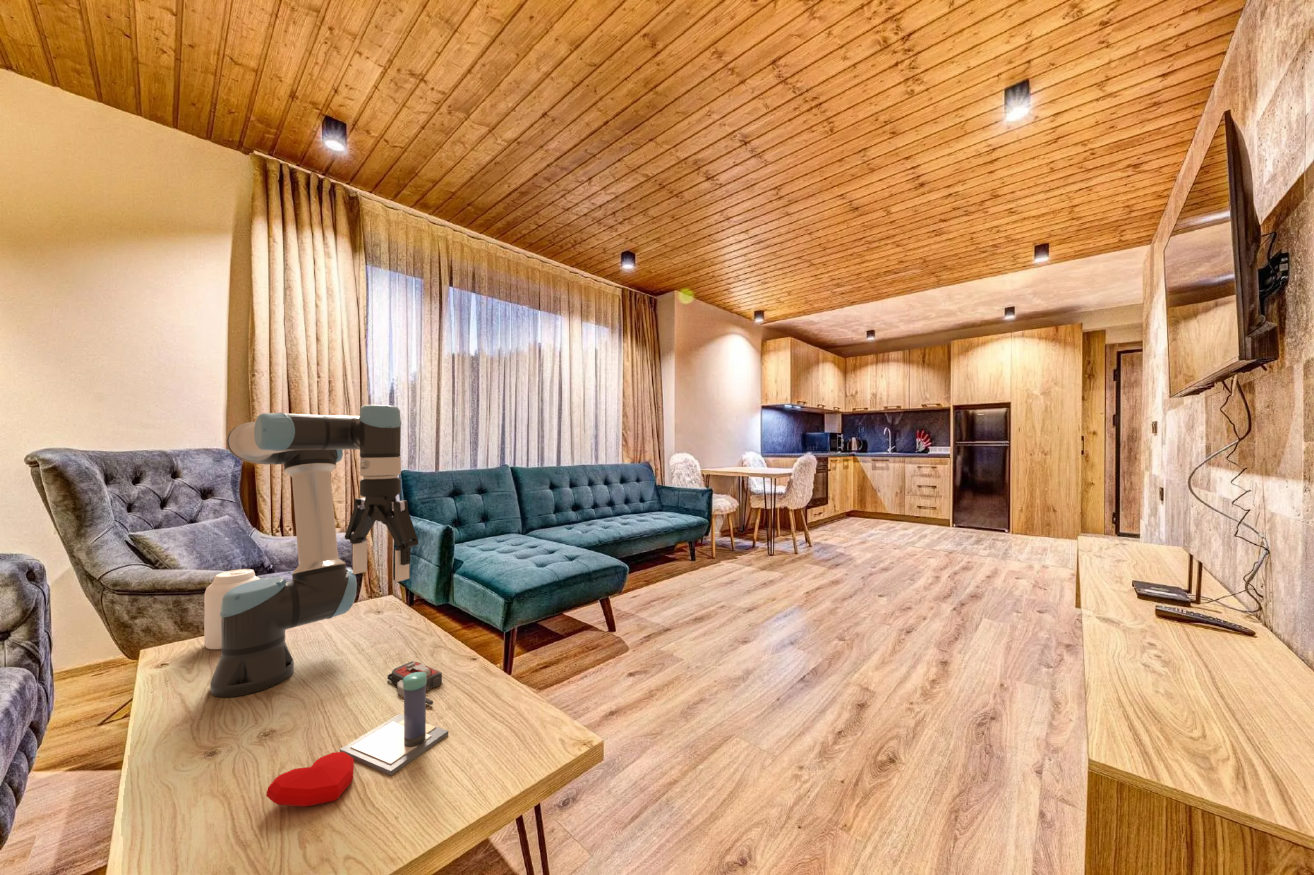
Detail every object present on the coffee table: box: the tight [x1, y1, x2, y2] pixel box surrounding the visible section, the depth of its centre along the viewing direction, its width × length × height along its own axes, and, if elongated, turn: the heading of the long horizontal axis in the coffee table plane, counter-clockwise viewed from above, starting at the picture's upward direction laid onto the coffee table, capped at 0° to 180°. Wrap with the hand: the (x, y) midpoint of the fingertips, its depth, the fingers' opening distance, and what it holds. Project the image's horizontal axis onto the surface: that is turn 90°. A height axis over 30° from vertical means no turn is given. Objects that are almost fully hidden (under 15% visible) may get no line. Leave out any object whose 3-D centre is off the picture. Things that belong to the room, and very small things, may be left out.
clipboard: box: [339, 713, 449, 776], centre depth 87 cm, size 14×12×1 cm
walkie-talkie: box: [387, 660, 443, 706], centre depth 107 cm, size 9×4×20 cm
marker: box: [403, 672, 427, 747], centre depth 87 cm, size 4×4×12 cm
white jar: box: [203, 568, 261, 650], centre depth 133 cm, size 12×12×20 cm
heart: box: [265, 751, 355, 808], centre depth 75 cm, size 12×4×10 cm
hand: (380, 576), depth 98 cm, fingers open, 13 cm apart
